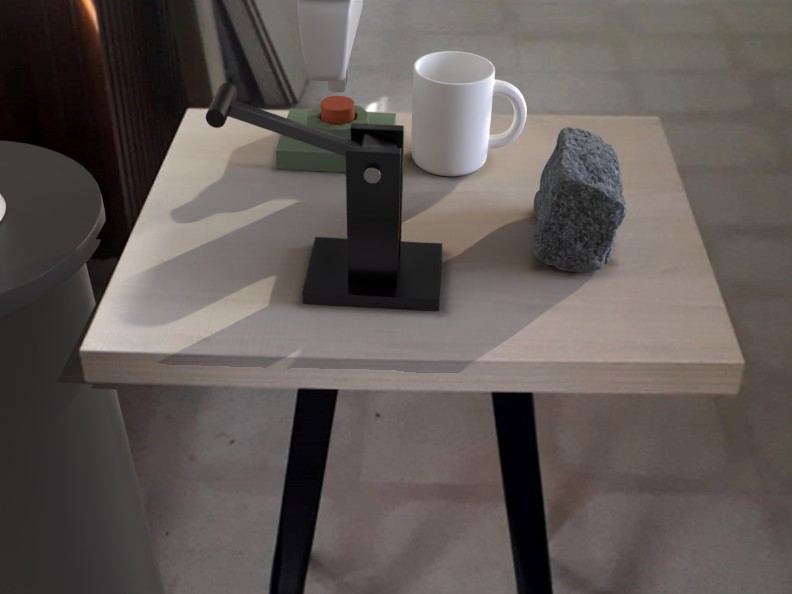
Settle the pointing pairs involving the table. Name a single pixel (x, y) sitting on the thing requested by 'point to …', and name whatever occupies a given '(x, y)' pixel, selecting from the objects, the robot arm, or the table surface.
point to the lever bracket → (374, 237)
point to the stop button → (337, 110)
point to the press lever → (279, 123)
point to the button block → (314, 158)
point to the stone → (578, 203)
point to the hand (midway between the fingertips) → (338, 86)
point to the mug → (458, 112)
